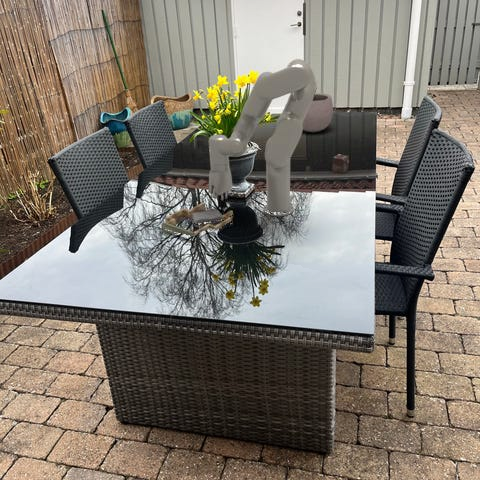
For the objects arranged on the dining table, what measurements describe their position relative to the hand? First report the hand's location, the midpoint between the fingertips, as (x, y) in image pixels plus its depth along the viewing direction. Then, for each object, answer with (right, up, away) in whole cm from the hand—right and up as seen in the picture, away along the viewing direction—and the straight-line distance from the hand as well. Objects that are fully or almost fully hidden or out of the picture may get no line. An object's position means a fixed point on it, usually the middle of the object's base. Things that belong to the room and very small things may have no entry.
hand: (222, 207), depth 201 cm
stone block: (-6, -6, -7) cm, 11 cm away
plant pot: (+53, +54, +97) cm, 123 cm away
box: (+57, +20, +35) cm, 69 cm away
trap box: (-9, -7, -10) cm, 15 cm away
